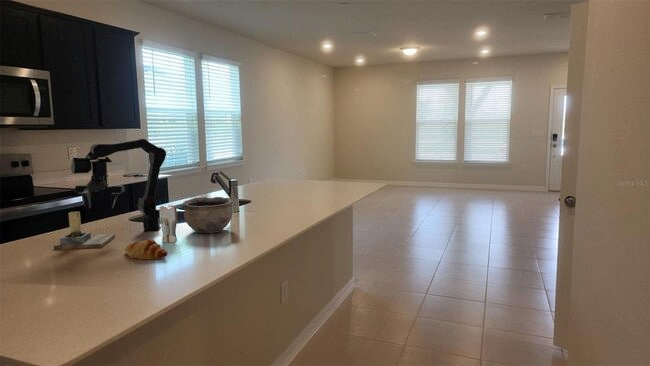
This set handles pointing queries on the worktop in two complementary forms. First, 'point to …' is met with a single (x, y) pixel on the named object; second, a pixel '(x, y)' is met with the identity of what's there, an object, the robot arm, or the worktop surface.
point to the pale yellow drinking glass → (75, 224)
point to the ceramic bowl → (207, 214)
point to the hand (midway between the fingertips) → (100, 208)
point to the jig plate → (84, 241)
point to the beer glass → (168, 223)
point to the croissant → (145, 250)
